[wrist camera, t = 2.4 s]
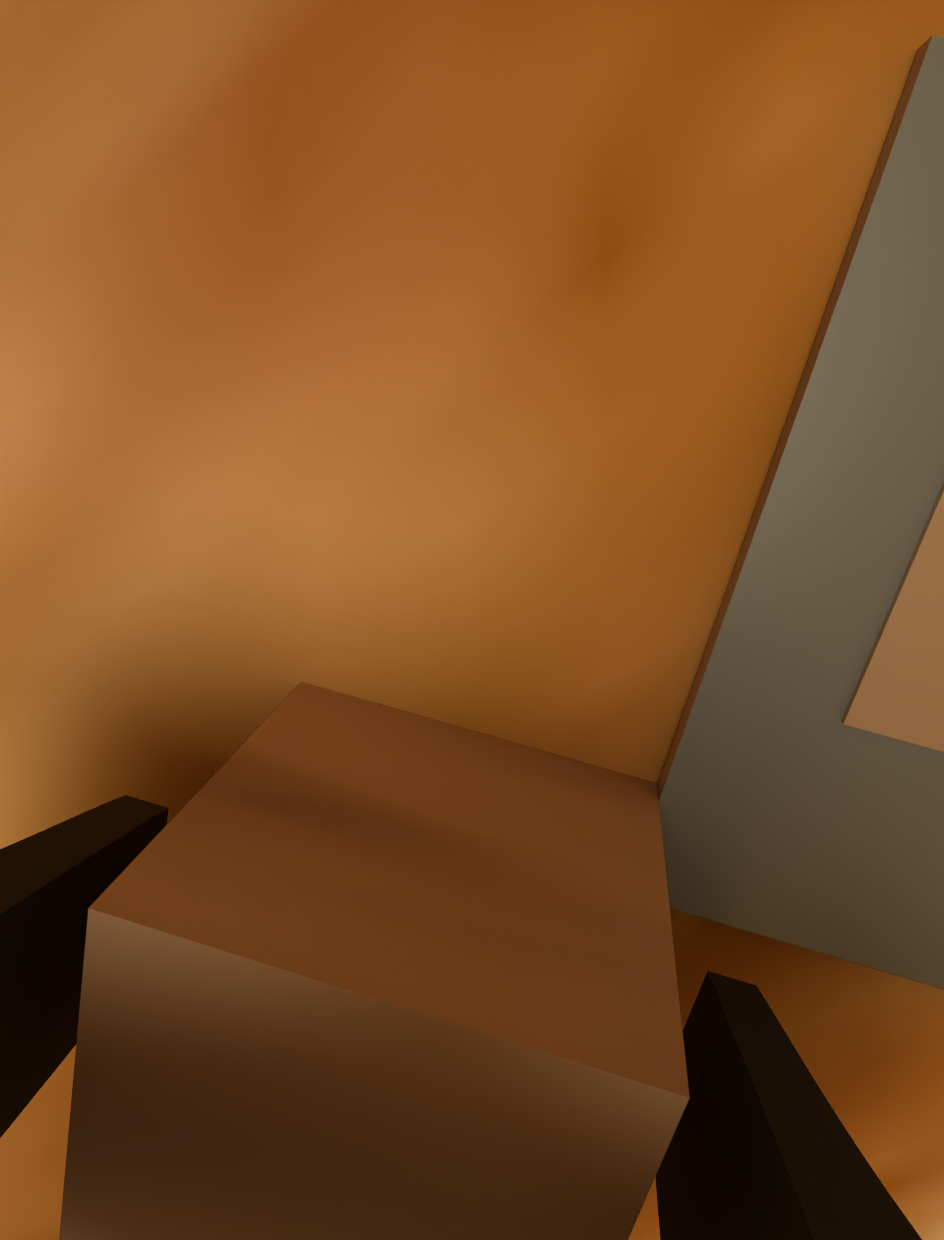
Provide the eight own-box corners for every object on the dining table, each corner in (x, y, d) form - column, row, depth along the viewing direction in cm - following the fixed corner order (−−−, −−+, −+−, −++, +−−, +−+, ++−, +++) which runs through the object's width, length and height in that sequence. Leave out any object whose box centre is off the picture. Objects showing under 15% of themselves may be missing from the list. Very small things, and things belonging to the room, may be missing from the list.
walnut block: (558, 1056, 13) (528, 1468, 8) (254, 960, 13) (53, 1299, 8) (655, 780, 11) (689, 1098, 6) (303, 679, 11) (88, 909, 7)
